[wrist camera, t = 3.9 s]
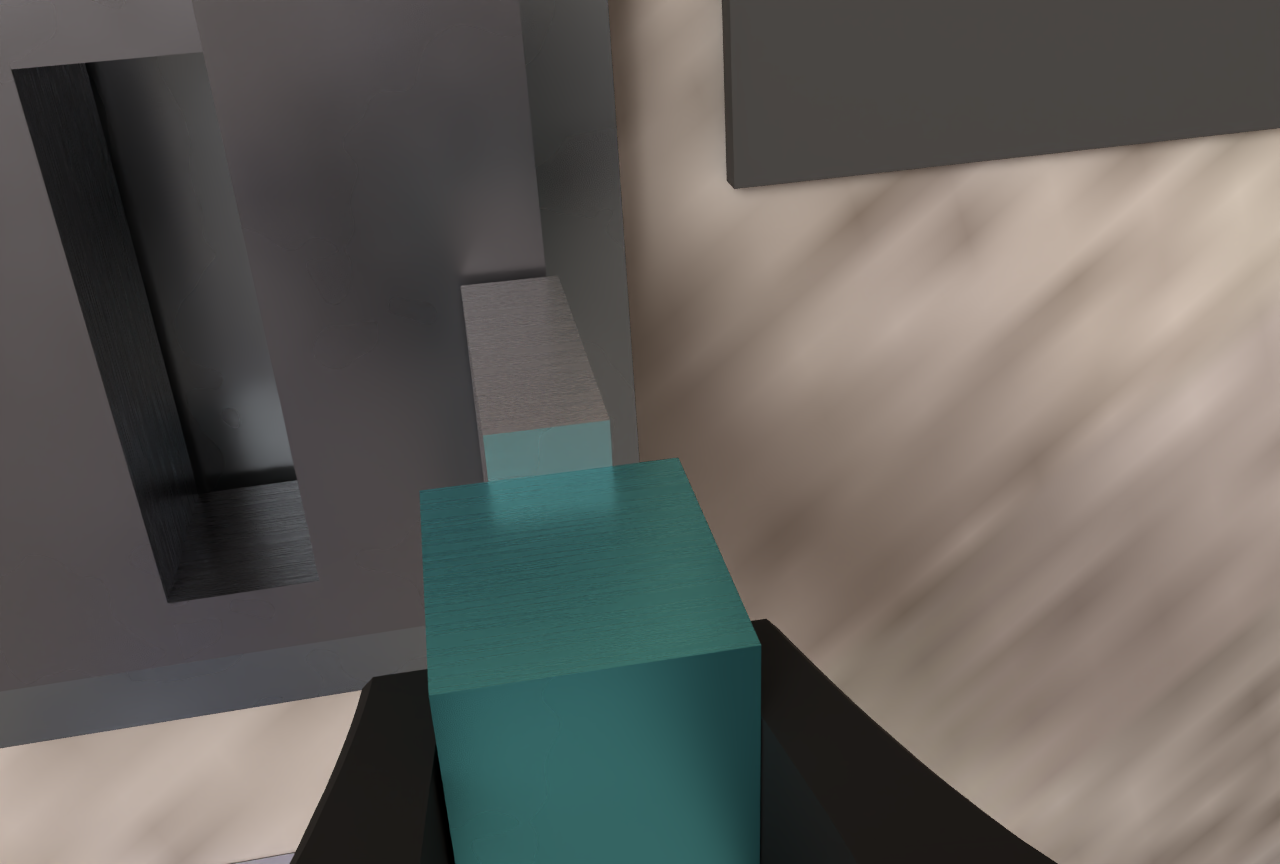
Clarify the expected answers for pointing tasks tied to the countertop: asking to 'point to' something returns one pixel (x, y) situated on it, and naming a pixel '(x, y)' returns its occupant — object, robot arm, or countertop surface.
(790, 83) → the key mat
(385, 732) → the robot arm
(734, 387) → the countertop surface
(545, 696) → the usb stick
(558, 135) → the base
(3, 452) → the grey slotted holder
